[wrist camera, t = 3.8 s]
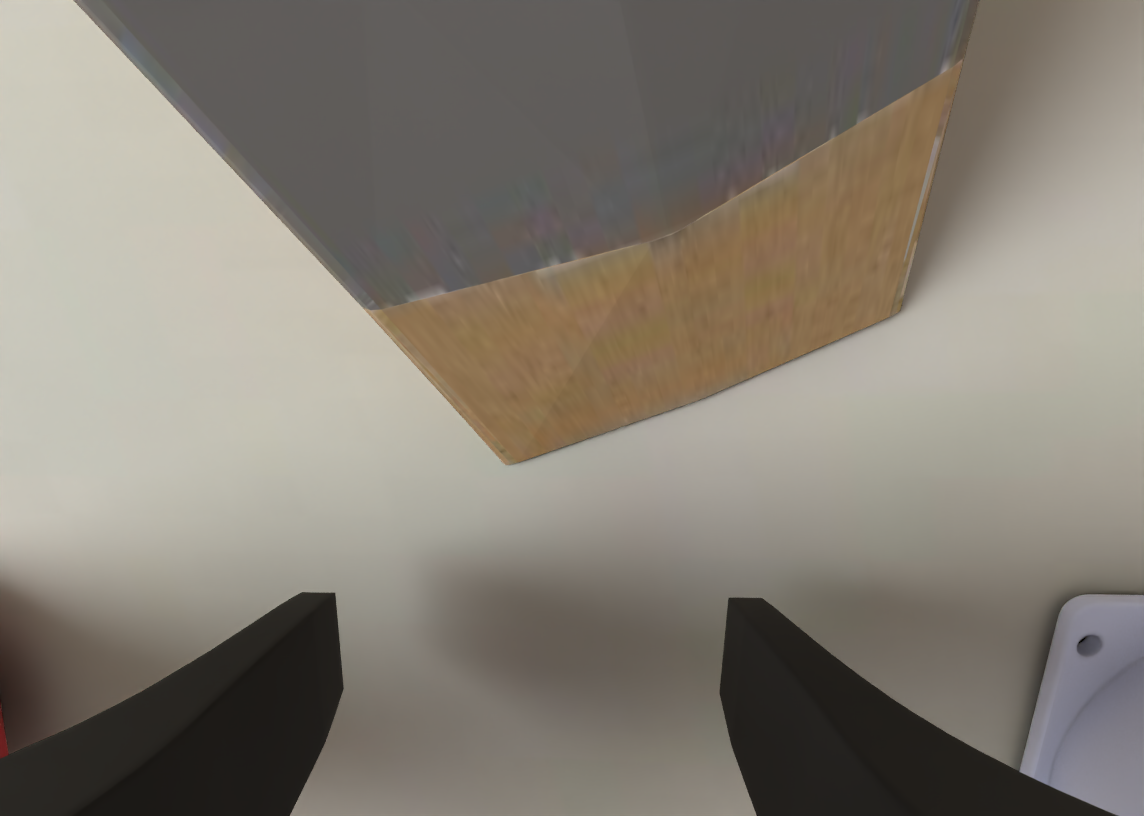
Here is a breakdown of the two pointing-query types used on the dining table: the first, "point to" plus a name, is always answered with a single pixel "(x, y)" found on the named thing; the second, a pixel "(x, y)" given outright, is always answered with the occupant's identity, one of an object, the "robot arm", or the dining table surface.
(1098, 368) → the dining table surface
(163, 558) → the dining table surface
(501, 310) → the sandwich container
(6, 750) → the liquor
